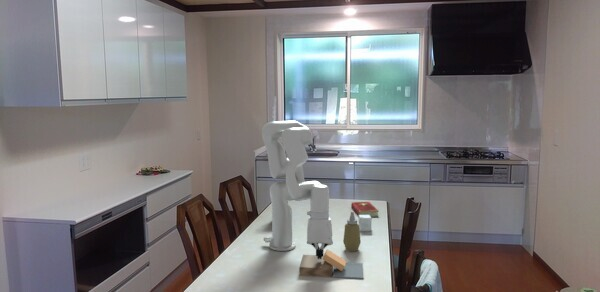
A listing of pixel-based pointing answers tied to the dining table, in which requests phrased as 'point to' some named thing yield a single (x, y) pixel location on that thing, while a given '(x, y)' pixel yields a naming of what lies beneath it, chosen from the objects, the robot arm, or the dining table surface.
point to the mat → (349, 271)
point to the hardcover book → (364, 208)
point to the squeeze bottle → (352, 234)
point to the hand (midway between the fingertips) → (319, 257)
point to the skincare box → (365, 222)
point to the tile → (334, 260)
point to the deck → (315, 266)
